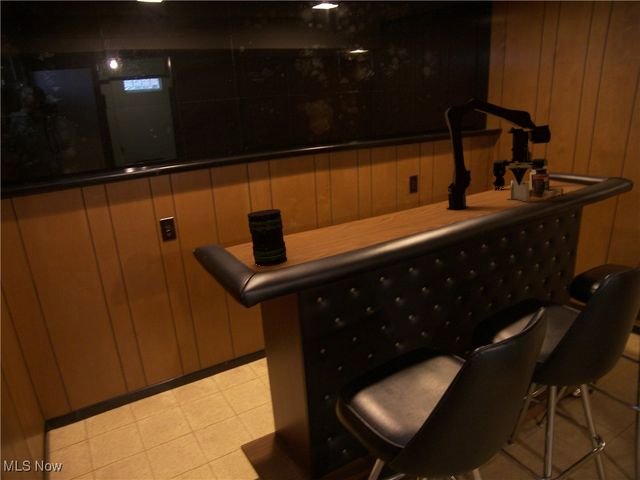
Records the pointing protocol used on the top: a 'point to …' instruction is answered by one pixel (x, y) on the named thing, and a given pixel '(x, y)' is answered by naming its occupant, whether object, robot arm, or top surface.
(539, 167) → the medicine bottle
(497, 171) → the cat figurine
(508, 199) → the pintle plate
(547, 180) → the supplement bottle
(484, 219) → the top surface
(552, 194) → the cradle
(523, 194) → the grey flat block
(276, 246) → the storage jar
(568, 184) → the top surface
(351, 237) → the top surface
